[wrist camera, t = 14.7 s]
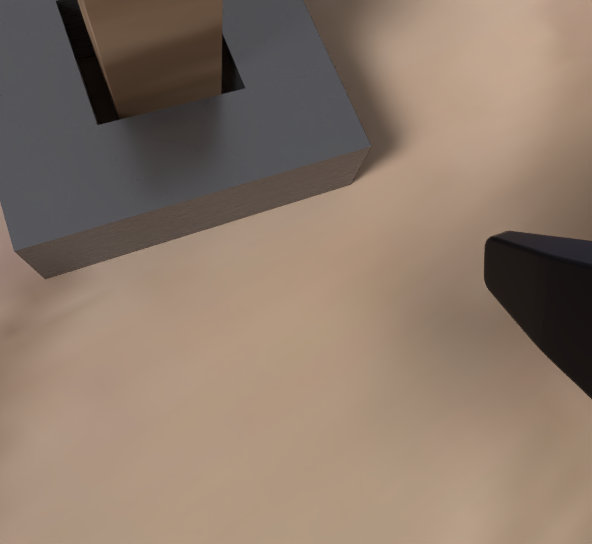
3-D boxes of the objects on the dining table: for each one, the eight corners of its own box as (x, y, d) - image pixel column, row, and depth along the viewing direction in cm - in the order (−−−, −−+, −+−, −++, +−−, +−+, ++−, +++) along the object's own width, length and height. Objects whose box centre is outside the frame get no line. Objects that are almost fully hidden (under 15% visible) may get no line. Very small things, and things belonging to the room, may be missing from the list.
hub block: (350, 184, 25) (371, 146, 22) (44, 279, 22) (14, 250, 18) (247, -45, 28) (251, -109, 25) (-34, 7, 25) (-72, -58, 21)
